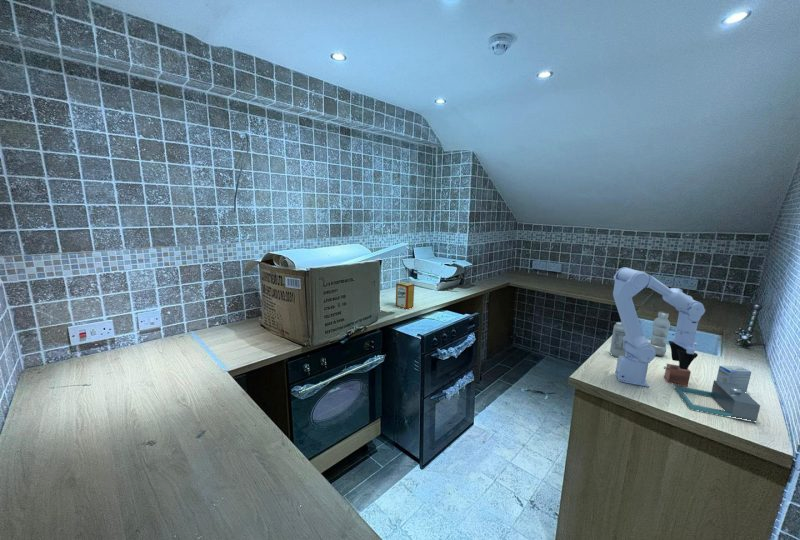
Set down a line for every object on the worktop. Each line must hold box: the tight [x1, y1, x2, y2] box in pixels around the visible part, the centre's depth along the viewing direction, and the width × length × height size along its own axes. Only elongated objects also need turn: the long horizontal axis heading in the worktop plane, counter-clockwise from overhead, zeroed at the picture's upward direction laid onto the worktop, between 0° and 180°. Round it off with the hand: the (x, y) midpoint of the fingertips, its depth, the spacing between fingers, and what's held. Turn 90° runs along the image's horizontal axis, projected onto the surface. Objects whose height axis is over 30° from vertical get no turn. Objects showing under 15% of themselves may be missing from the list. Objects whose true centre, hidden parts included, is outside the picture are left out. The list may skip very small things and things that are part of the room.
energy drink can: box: [609, 321, 626, 358], centre depth 148 cm, size 6×6×15 cm
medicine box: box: [715, 365, 752, 393], centre depth 122 cm, size 8×4×9 cm, turn 92°
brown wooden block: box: [663, 363, 692, 387], centre depth 127 cm, size 7×4×6 cm, turn 67°
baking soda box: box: [395, 281, 415, 310], centre depth 212 cm, size 10×6×16 cm
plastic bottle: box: [649, 311, 672, 357], centre depth 151 cm, size 6×7×20 cm
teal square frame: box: [674, 380, 761, 422], centre depth 112 cm, size 16×14×7 cm
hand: (679, 364), depth 126 cm, fingers open, 7 cm apart
